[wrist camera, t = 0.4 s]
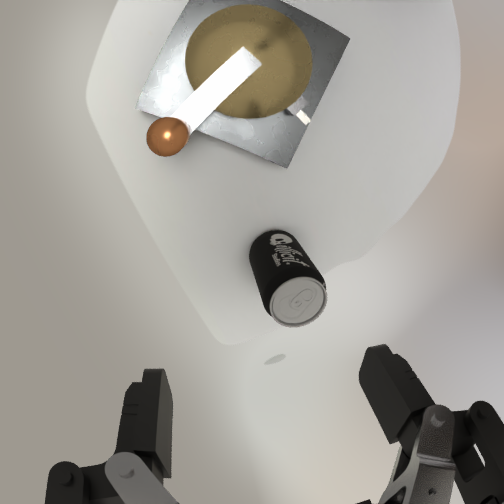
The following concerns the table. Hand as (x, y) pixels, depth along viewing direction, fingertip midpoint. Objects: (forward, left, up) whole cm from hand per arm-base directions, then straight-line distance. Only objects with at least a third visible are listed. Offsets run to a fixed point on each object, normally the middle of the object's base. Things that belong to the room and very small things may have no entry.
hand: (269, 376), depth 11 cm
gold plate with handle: (-12, -5, -23) cm, 26 cm away
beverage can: (+4, +9, -28) cm, 29 cm away
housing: (-15, -4, -27) cm, 31 cm away
